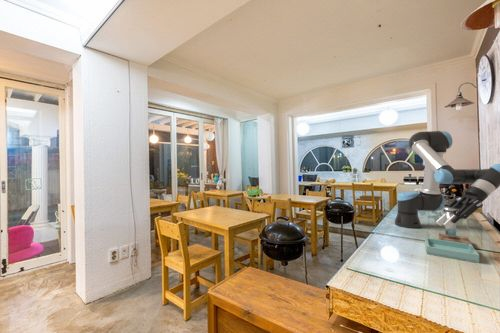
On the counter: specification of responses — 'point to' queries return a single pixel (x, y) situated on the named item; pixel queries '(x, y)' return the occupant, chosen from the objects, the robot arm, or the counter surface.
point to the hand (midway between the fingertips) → (442, 225)
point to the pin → (448, 214)
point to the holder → (455, 239)
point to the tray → (451, 250)
